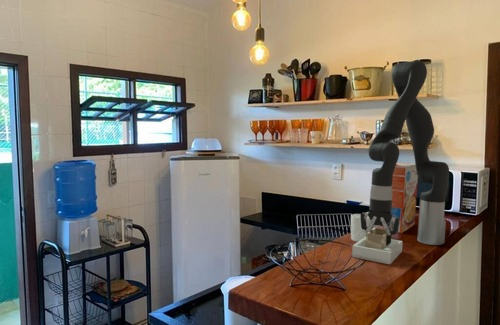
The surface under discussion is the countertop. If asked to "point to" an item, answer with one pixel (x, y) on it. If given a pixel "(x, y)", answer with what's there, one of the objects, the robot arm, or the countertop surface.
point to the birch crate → (376, 239)
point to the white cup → (358, 227)
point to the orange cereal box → (404, 195)
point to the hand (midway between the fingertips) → (378, 243)
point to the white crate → (377, 251)
